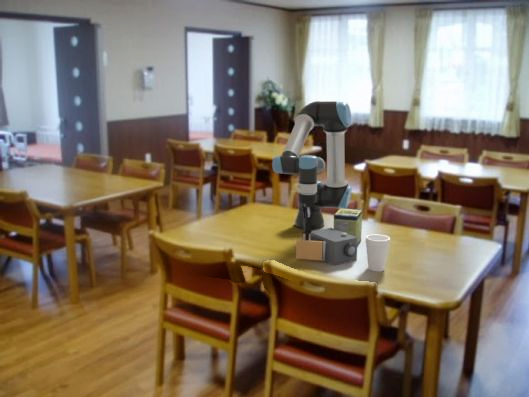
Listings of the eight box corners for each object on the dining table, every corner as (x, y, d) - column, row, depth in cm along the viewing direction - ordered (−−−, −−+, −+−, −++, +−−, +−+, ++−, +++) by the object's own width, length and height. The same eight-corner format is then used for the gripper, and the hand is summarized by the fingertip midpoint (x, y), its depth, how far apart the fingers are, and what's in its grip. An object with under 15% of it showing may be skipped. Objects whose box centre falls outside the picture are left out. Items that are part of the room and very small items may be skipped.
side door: (296, 257, 227) (296, 239, 225) (325, 259, 224) (325, 241, 222) (296, 258, 226) (296, 240, 224) (325, 260, 223) (325, 242, 221)
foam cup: (362, 265, 221) (363, 234, 218) (384, 264, 222) (385, 234, 219) (368, 273, 212) (369, 241, 209) (391, 272, 213) (393, 240, 210)
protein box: (361, 241, 254) (362, 209, 250) (355, 250, 239) (356, 217, 236) (339, 239, 257) (340, 207, 254) (332, 248, 243) (333, 215, 239)
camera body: (329, 249, 242) (330, 225, 239) (359, 261, 225) (360, 236, 223) (307, 253, 235) (308, 229, 233) (337, 266, 219) (337, 240, 216)
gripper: (297, 190, 229) (296, 243, 234) (300, 196, 216) (299, 252, 221) (314, 190, 229) (313, 243, 234) (318, 196, 217) (317, 252, 221)
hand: (306, 247), depth 228 cm, fingers closed
